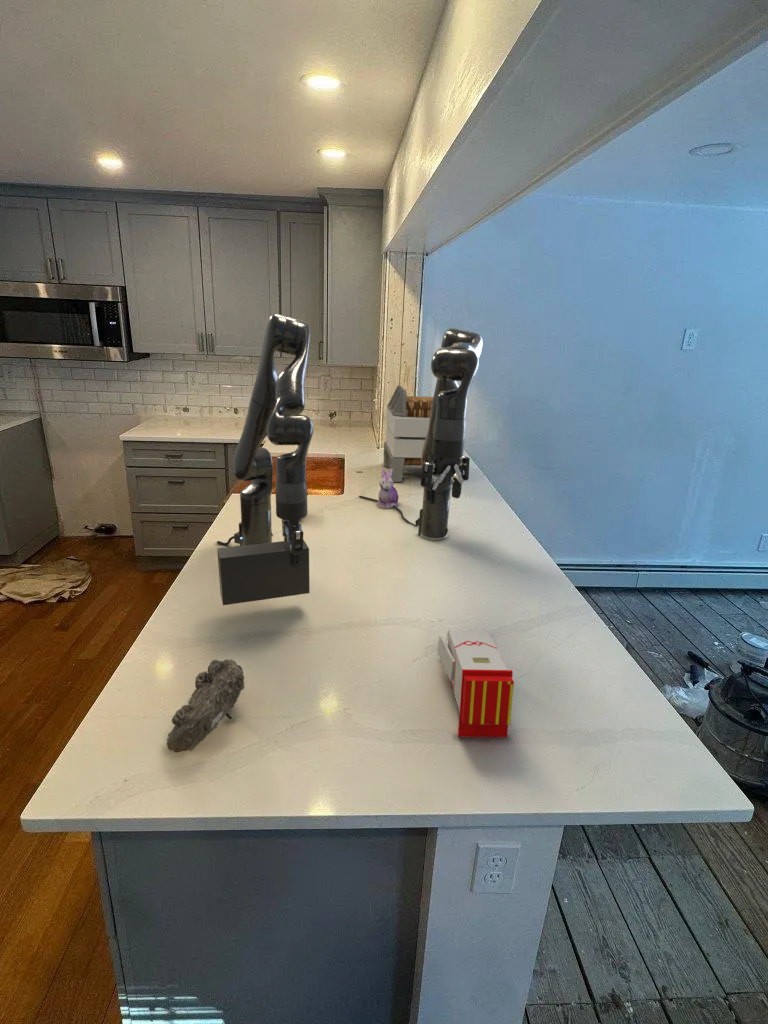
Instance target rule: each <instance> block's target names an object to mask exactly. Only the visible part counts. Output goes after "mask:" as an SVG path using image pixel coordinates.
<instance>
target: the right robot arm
mask: <svg viewBox="0 0 768 1024" xmlns="http://www.w3.org/2000/svg"><path fill="white" fill-rule="evenodd" d="M483 342H484V341H483V337H482V336H481V334H478V333H476V332H473V331H468V330H464V329H459V328H453V327H452V328H448V329H447V330H445V332H444V334H443V337H442V340H441V346H440V347H439V348H438V349H436V351H435V352H434V353H433V355H432V358H431V361H430V369H431V373H432V375H433V376H434V378H435V379H436V383H435V388H434V392H433V396H432V397H433V401H432V406H431V413H430V420H429V426H428V431H427V435H426V438H425V442H424V446H423V450H422V455H421V464H422V466H421V468H422V469H421V477H420V487H422V488H423V493H422V496H423V497H422V506H421V508H420V509H419V516H418V518H417V519H416V520H415V522H414V523H412V522H411V521H409V520H408V519H406V517H404V514H403V511H401V510H400V508H399V507H397V505H396V506H394V505H393V507H392V508H393V509H395V510H396V511H398V512H399V514H400V517H401V519H402V520H403V521H405V522H406V523H407V524H408V525H409V524H410V525H411V526H414V527H418V530H417V535H418V536H420V538H421V539H424V540H426V541H432V542H440V541H444V540H446V539H447V538H448V533H449V528H448V525H449V517H450V516H449V514H450V504H451V497H452V498H453V499H460V497H461V493H462V485H463V484H464V482H465V481H469V476H470V462H471V460H470V457H468V456H465V455H464V450H465V440H466V428H467V427H466V424H467V423H466V417H467V416H466V415H467V405H468V400H469V399H468V398H469V394H470V390H471V387H472V385H473V382H474V379H475V377H476V375H477V372H478V369H479V363H480V361H479V360H480V357H481V354H482V349H483ZM458 382H460V384H459V385H458ZM452 479H453V481H454V482H453V483H452ZM358 498H361V499H365V500H369V501H373V502H376V503H378V501H379V499H375V498H372V497H368V496H363V495H358Z"/></svg>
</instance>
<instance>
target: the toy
mask: <svg viewBox="0 0 768 1024" xmlns="http://www.w3.org/2000/svg"><path fill="white" fill-rule="evenodd" d="M446 640H447V643H446V641H445V639H444V636H443V635H442V634H439V637H438V646H437V656H438V657H439V659H440V661H441V663H442V666H443V668H444V670H445V672H446V674H447V677H448V679H449V681H450V684H451V687H452V690H453V693H454V697H455V701H456V705H457V708H458V711H459V714H458V715H459V716H458V730H457V731H458V732H457V737H458V738H508V731H509V726H510V725H511V717H512V707H513V697H514V696H513V695H514V684H515V680H514V679H513V673H514V671H513V670H512V669H508V667H507V665H506V662H505V661H504V659H503V658H502V655H501V653H500V651H499V649H498V647H497V643H496V639H495V637H494V635H493V634H491V632H490V631H489V629H467V628H466V629H465V628H463V629H461V628H460V629H459V628H448V630H447V639H446Z"/></svg>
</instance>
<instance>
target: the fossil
mask: <svg viewBox="0 0 768 1024" xmlns="http://www.w3.org/2000/svg"><path fill="white" fill-rule="evenodd" d="M243 670H244V669H243V667H242V665H240V664H237V662H236V661H235V660H234V659H232V658H231V659H227V658H226V659H224V660H223V661H222V660H217V659H212V660H211V661H210V663H209V665H208V666H207V671H201V672H199V673H198V674H197V675H196V676H195V680H194V684H195V685H194V687H195V689H194V690H193V693H192V694H191V697H190V698H189V700H188V704H184V705H182V706H181V707H180V709H177V710H176V711H175V713H174V715H173V716H172V718H171V723H172V724H173V727H172V730H171V731H170V732H168V734H167V738H166V741H167V742H166V745H167V749H168V750H169V751H173V752H174V753H176V754H178V753H182V752H188V751H189V752H192V751H193V750H195V748H196V747H197V746H199V744H200V743H201V742H203V741H204V740H205V739H206V738H207V737H208V736H209V735H210V734H211V733H212V732H214V730H215V729H217V727H218V726H219V724H220V722H221V721H222V720H223V719H224V718H225V716H226V717H227V719H229V720H233V717H232V715H230V714H229V710H230V709H231V708H234V706H235V704H236V703H237V702H238V699H239V697H240V695H241V693H242V691H243V690H245V689H244V688H245V675H244V671H243Z"/></svg>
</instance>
